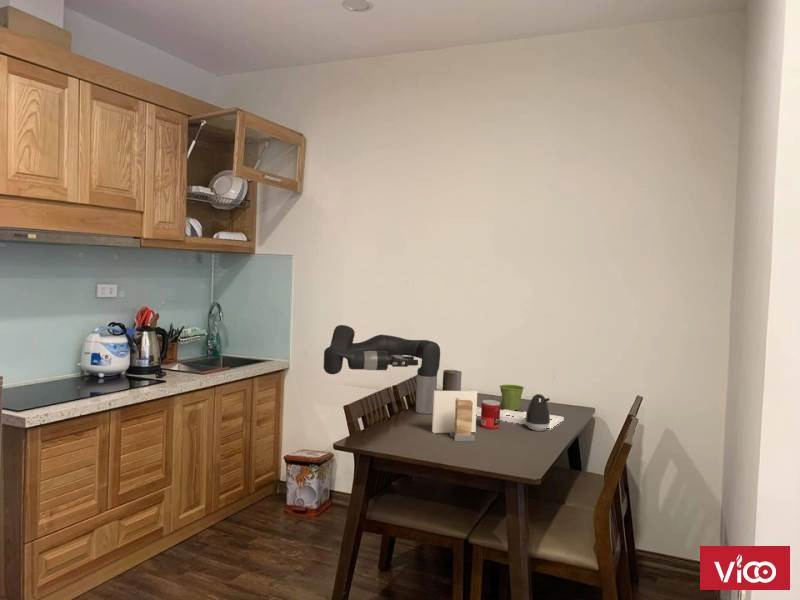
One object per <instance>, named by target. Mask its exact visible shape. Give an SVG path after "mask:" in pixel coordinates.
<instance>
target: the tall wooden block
mask: <svg viewBox="0 0 800 600" xmlns="http://www.w3.org/2000/svg"><path fill="white" fill-rule="evenodd" d="M472 407H473V402H472V401H471V400H456V403H455V425H454V435H472V433H471V429H472Z"/></svg>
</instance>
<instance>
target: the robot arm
mask: <svg viewBox="0 0 800 600" xmlns="http://www.w3.org/2000/svg"><path fill="white" fill-rule="evenodd" d="M355 333H356V332H355V330H354V328H352V327H351V326H349V325H345V324H339V325H337V326H336V327H334V330H333V333H332V337H331V341H330V345H329V346H327V348H325V349H324V351H323V370H324V372H325V373H326V374H329V375H337V374H339V373H340V372H341V371H342V369H343V364H344V363H343V361H344V359H346V361H347V366H348V368H349V369H350V370H353V371H354V370H356V371H357V370H360V371H361V370H362V371H365V370H366V371H387V370H388V367H389V366H392V367H393V368H394V367H397V368H398V367H399V368H403V367H405V368H408V367H409V366H413V367H414V366H415V367H416V366H419V360H418V359H421V363H420V367H418V369H417V372H416V373H417V375H416V376H417V377H416V398H415V412H416V413H418V414H427V415H431V414H432V415H433V396H434V391H438V390H437V388H438V387H437V386H438V384H437V383H438V371H439V370H440V364H441V363H440V361H441V348H440V346H439V344H438V343H437V342H435V341H433V340H432V341H431V340H428V339H406V338H403V337H399V336H396V335H395V336H394V335H388V334H378V335H375V336H372V337H370V338H368V339H366V340H363V341H361V342H354V338H355ZM415 358H418V359H415Z"/></svg>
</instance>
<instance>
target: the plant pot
mask: <svg viewBox="0 0 800 600" xmlns="http://www.w3.org/2000/svg"><path fill="white" fill-rule="evenodd" d="M499 388H500V393H501V401H502V408H503V409H502V410H504V409H505V410H511V411H515V410H518V411H519V410H520V404H521V399H522V394H523V392H524V390H525V387H524V386H522V385H517V384H502V385H499Z"/></svg>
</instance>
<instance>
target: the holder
mask: <svg viewBox="0 0 800 600" xmlns="http://www.w3.org/2000/svg"><path fill="white" fill-rule="evenodd" d="M526 413H527V411H511V410H505V409H500V420H502V421H501V422H505V421H507V423H511V422H513V423H512V424H516V423H519V424H518V425H522V424H525V425H524V426H527V423H526V420H525V419H524V418H526ZM476 415H477V416H481V407H479V406H477V410H476ZM506 415H510V416H506ZM477 416H476V417H477ZM512 416H514V417H512ZM550 419H552V420H550V423H549V425H548V427H547V428H550V429H549V430H552V429H554V428H555V427H554V426H556V425H557V424H559V423H560V422H562V421H564V420H565V417H564V416H560V415H556V414H555V415H553V414H550ZM559 425H560V424H559ZM557 426H558V425H557ZM557 426H556V427H557ZM553 427H554V428H553ZM551 428H552V429H551Z"/></svg>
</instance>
